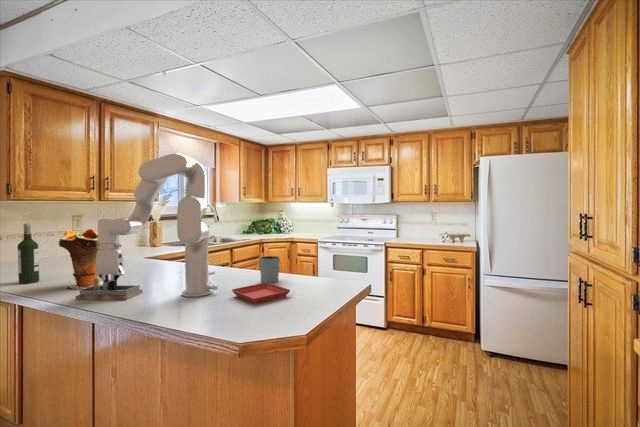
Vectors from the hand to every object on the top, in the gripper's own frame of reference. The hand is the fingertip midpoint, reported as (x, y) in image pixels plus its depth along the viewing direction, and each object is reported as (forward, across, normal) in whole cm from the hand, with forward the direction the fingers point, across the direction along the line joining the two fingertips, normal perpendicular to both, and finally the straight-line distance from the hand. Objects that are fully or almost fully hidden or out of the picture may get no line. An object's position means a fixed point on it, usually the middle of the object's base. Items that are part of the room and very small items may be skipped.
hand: (110, 289), depth 143 cm
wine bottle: (+3, +60, -24) cm, 65 cm away
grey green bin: (+3, -63, -29) cm, 69 cm away
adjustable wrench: (+3, -23, -37) cm, 44 cm away
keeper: (+3, 0, 0) cm, 3 cm away
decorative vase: (+3, +25, -19) cm, 32 cm away
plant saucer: (+4, -65, -1) cm, 65 cm away
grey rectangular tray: (+1, 0, 0) cm, 1 cm away
